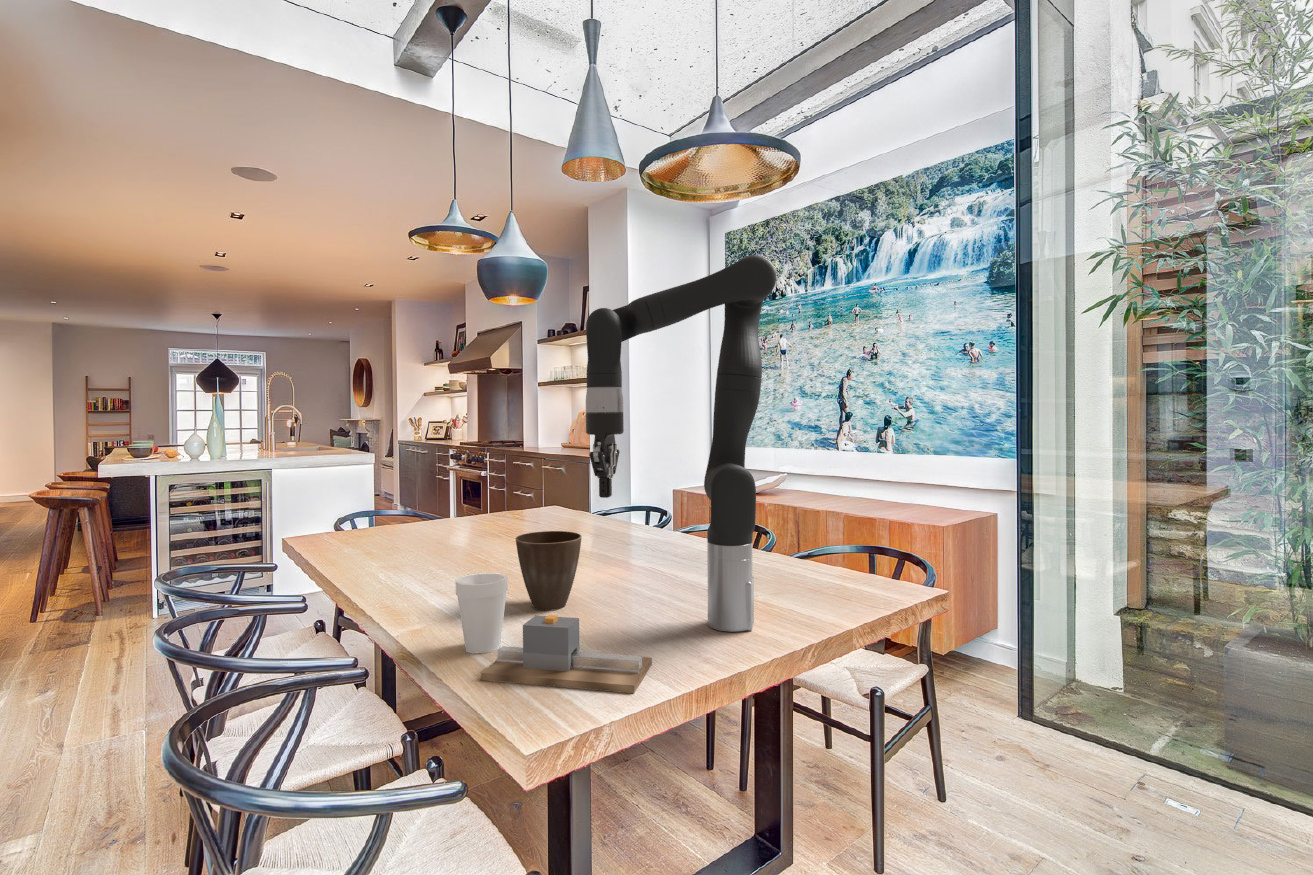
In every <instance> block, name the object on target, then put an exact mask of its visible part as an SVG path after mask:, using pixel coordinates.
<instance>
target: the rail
mask: <svg viewBox="0 0 1313 875" xmlns="http://www.w3.org/2000/svg"><path fill="white" fill-rule="evenodd" d="M496 651H497V659H496V660H497V663H508V664H520V665H523V647H520V646H518V647H517V646H506V645H504V646H503V645H502V646H500V647H499V648H498V649H497V650H496ZM642 657H643V656H642V655H641V656H640V655H630V654H629V655H628V654H627V655H626V654H614V653H603V652H602V653H599V652H588V651H586V652H585V651H580V652H575V651H573V652H572V653H571V669H583V670H596V671H608V672H621V673H633V674H639V672H640V671H641V669H642V668H643V666H642Z"/></svg>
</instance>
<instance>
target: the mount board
mask: <svg viewBox="0 0 1313 875" xmlns="http://www.w3.org/2000/svg"><path fill="white" fill-rule="evenodd" d="M497 660H498V659H496V660H495V661H494V662H492V663H491V664H490V665H488V666H487V667H486V668H485V669H484V670H482V671H481V672H480V681H489V682H490V681H491V682H500V683H501V682H502V683H510V684H511V683H512V684H521V685H522V684H524V685H537V686H544V687H545V686H546V687H547V686H548V687H559V688H560V687H561V688H568V689H569V688H570V689H583V690H591V691H592V690H594V691H603V692H604V691H605V692H615V693H617V692H618V693H629V694H635V693H636V692H637V690H638V688H639V687H640V685H641V683H642V681H643V680H644V678H645V677H646V675H647V673H649V670H650V669H651V666H652V665H653V658H652V657H647V656H646V657H645V656H642V666H643V668H642V669H641V671H640V672H639V674H633V673H621V672H608V671H596V670H583V669H570V671H557V670H545V669H533V668H523V665H520V664H508V663H497Z"/></svg>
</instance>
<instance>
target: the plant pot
mask: <svg viewBox="0 0 1313 875" xmlns="http://www.w3.org/2000/svg"><path fill="white" fill-rule="evenodd" d="M582 537H583V536H582V535H581V534H580V533H578V532H573V531H564V530H549V531H548V530H546V531H545V530H544V531H534V532H528V533H527V532H526V533H523V534H520V535H517V536H516V537H515V544H516V551H517V556H518V558H517V559H518V563H519V568H520V571H521V576H522V578H523V583H524V585H525V589H526V591H527V594H528V596H529V599H530V600H529V601H530V602H531V605H532V607H533V608H534V609H536V610H538V611H555V610H559V609H562V608H565V606H566V605H567V603H568V600H569V597H570V594H571V591H572V587H573V584H574V581H575V578H576V577H575V576H576V573H577V570H578V564H579V558H580V554H581V553H580V552H581V547H582V546H581V545H582Z"/></svg>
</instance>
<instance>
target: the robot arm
mask: <svg viewBox="0 0 1313 875" xmlns="http://www.w3.org/2000/svg"><path fill="white" fill-rule="evenodd" d="M777 279H778V278H777V269H776V268H775V266H774V265H773V263H772V261H770V260H769V259H767V258H766V257H764V256H761V255H757V254H755V255H754V254H753V255H752V254H751V255H747V256H745V257H742V258H740V259H739V260H738V261H736V262H734V263H732V264H730V265H727V266H726V267H724V268H723V269H720V270H718V271H716V272H714V273H712V274H709V275H706V276H704V277H700V278H699V279H696V280H693V281H690V282H687V283H683V284H680V285H677V286H673V287H669V288H666V289H662V290H661V291H657V292H654V293H653V292H652V293H651V294H648V295H644V296H642V297H637V298H636V299H633V300H631V301H630V302H629V303H627V305H623V306H621V307H617V308H615V309H611V308H609V307H608V308H607V307H599V308H596V309H595V310H593V311H592V312H591V313H590V314H589V315H588V317H587V319H586V323H585V333H586V334H585V335H586V350H587V352H586V353H587V364H586V392H585V393H586V394H585V433H586V434H587V435H591V436H592V435H594V441H593V444H592V451H590V452H589V454H588V455H589V458H590V463H591V467H592V469H593V473H594V474H593V475H594V476H595V477H596V478H597V479H598V496H599V497H600V498H603V499H605V498H606V499H608V498H610V497H612V495H613V492H612V491H613V490H612V489H613V484H612V479H613V477H614V475H615V474H616V471H617V467H618V462H619V457H620V454H621V453H620V449H619V448H618V445H617V443H616V437H615V435H623V434H624V430H625V429H624V425H625V424H624V423H625V422H624V396H623V394H624V393H623V378H622V377H623V374H622V373H623V372H622V370H623V369H622V364H621V363H622V362H621V358H622V356H621V355H622V343H623V342H625V341H628V340H629V339H632V338H635V337H636V336H640V335H642V334H646V333H650V332H653V331H657V330H660V329H663V328H666V327H669V326H671V325H674V324H676V323H677V324H678V323H679V322H682V321H684V320H687V319H688V318H691V317H693V316H697V314H700V313H702V312H705V311H707V310H711V309H713V308H716V307H719V306H723V305H724V322H723V323H724V324H723V325H724V326H723V333H722V338H721V339H722V340H721V344H720V351H719V356H718V364H717V369H716V380H715V390H714V401H713V402H714V406H713V419H712V420H713V423H712V426H713V427H712V439H711V446H710V449H709V450H710V452H709V455H708V461H707V466H706V470H705V475H704V480H703V487H704V492H705V494H706V496H707V498H708V499H709V500H710V520H709V521H710V523H709V526H708V528H707V530H706V532H707V533H706V539H707V540H706V543H707V546H706V548H707V549H706V550H707V552H706V553H707V561H706V562H707V626H708V627H709V628H711V629H714V630H717V631H720V632H721V631H722V632H729V633H730V632H733V633H734V632H744V631H753V627H754V622H755V608H754V607H755V602H754V601H755V598H754V597H755V583H754V582H755V581H754V580H755V579H754V576H753V571H754V569H753V565H754V564H753V560H754V559H753V556H754V555H753V540H754V538H753V535H754V531H755V529H756V518H757V517H756V516H757V513H756V512H757V510H756V509H757V490H756V489H757V488H756V482H755V478H754V477H753V476H754V475H753V474H752V472H750V471H749V470H748V469H747V468H746V466H745V465H746V464H745V462H746V446H747V442H748V441H747V440H748V436H749V433H750V430H751V428H752V425H753V422H754V420H755V416H756V413H757V410H758V406H759V402H760V396H761V388H762V378H763V376H762V375H763V362H762V352H761V347H760V339H759V326H760V318H761V313H762V308H763V303H764V300H765V299H766V298H768V296H769V295H770V294H771V293H772V292H773V290H774V288H775V286H776V282H777Z"/></svg>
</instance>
